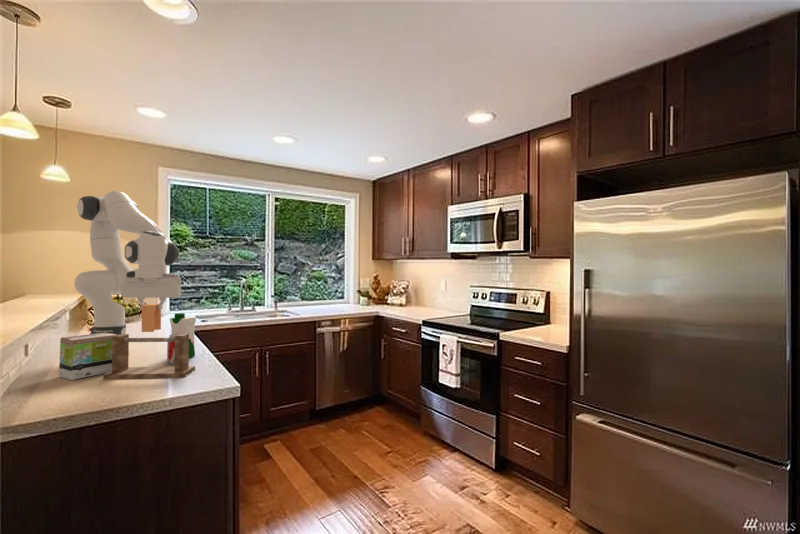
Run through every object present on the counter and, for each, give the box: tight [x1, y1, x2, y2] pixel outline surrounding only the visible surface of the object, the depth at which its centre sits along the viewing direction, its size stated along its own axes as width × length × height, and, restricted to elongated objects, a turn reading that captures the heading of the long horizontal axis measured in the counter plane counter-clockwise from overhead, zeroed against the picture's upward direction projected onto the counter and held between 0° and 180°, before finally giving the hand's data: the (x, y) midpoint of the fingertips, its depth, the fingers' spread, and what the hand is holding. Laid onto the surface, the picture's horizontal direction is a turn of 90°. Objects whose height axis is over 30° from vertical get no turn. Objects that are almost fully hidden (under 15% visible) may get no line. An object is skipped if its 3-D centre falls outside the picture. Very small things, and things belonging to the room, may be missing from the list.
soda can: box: [166, 334, 179, 365], centre depth 166 cm, size 7×7×12 cm
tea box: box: [58, 333, 116, 381], centre depth 148 cm, size 15×10×15 cm, turn 153°
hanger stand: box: [102, 333, 196, 380], centre depth 148 cm, size 28×10×15 cm, turn 97°
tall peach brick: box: [141, 303, 162, 333], centre depth 148 cm, size 4×6×10 cm, turn 7°
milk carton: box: [169, 312, 197, 358], centre depth 176 cm, size 9×9×20 cm
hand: (151, 309), depth 148 cm, fingers closed on tall peach brick, 4 cm apart
